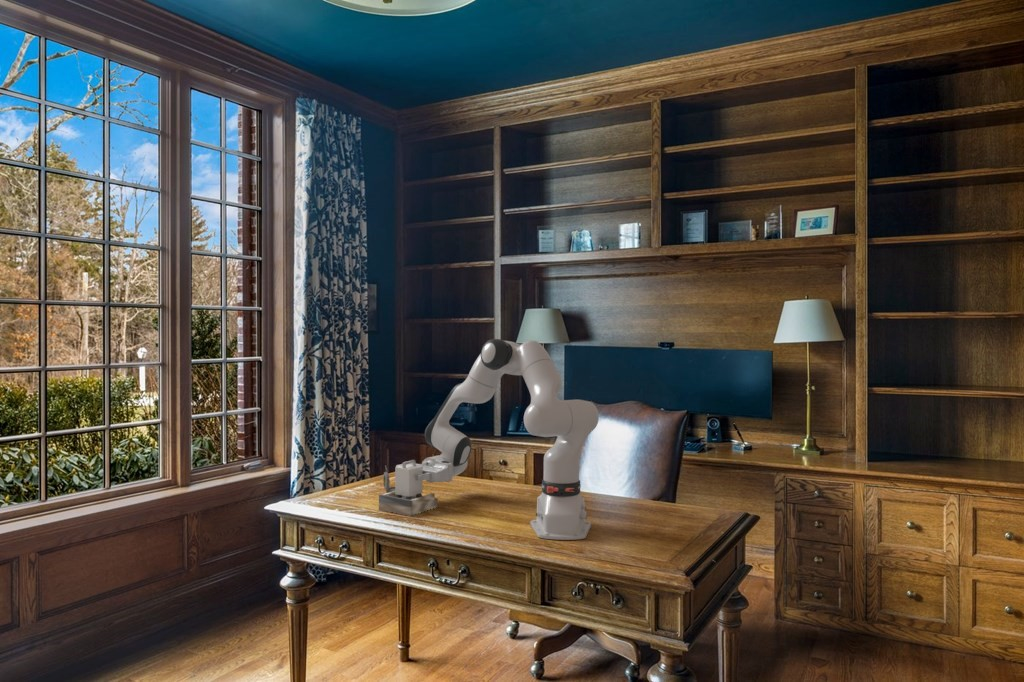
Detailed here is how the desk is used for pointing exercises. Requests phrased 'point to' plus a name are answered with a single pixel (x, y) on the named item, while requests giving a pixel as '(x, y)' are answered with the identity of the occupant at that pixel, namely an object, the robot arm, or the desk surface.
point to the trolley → (408, 480)
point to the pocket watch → (387, 481)
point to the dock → (407, 503)
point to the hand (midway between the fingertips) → (407, 476)
